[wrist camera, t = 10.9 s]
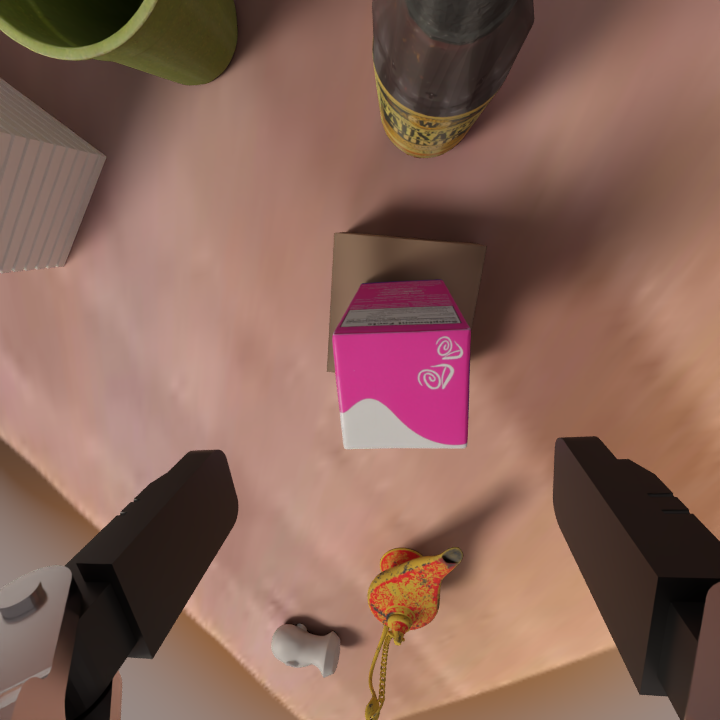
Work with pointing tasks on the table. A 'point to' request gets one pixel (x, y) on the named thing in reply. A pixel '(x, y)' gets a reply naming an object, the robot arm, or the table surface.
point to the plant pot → (130, 33)
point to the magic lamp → (405, 601)
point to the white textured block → (40, 184)
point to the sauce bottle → (442, 65)
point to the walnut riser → (402, 270)
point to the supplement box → (403, 367)
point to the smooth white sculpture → (306, 648)
